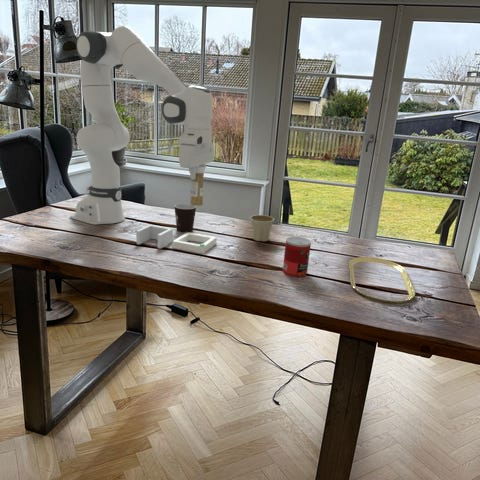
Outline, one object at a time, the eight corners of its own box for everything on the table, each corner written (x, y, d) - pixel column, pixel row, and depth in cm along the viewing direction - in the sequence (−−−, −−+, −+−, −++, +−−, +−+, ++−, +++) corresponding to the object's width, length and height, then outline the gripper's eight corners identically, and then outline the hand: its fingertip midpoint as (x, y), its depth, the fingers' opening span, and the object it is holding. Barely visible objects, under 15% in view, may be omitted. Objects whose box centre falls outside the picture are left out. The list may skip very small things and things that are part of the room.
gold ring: (400, 265, 151) (401, 261, 151) (419, 309, 119) (420, 304, 118) (347, 258, 154) (348, 254, 154) (351, 299, 122) (352, 294, 121)
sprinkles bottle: (205, 205, 149) (206, 167, 145) (193, 206, 147) (194, 168, 143) (199, 202, 153) (200, 165, 149) (187, 203, 151) (188, 165, 146)
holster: (136, 243, 153) (136, 230, 151) (149, 237, 161) (149, 224, 159) (160, 248, 150) (160, 235, 148) (172, 241, 158) (172, 228, 156)
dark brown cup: (193, 234, 167) (194, 209, 164) (172, 232, 167) (172, 208, 164) (197, 225, 178) (198, 202, 175) (177, 224, 178) (177, 201, 175)
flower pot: (244, 240, 165) (246, 218, 162) (253, 233, 173) (255, 213, 170) (267, 244, 161) (269, 223, 159) (275, 238, 170) (277, 217, 167)
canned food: (301, 279, 132) (305, 246, 128) (278, 273, 136) (281, 240, 132) (310, 272, 138) (314, 240, 135) (288, 266, 142) (292, 235, 138)
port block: (172, 247, 151) (172, 239, 150) (187, 238, 162) (187, 230, 161) (203, 253, 148) (203, 245, 147) (216, 243, 159) (216, 235, 158)
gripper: (202, 134, 153) (201, 172, 157) (175, 138, 134) (175, 181, 139) (218, 136, 151) (217, 174, 155) (193, 140, 133) (192, 183, 137)
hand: (197, 177), depth 147 cm, fingers closed on sprinkles bottle, 4 cm apart
